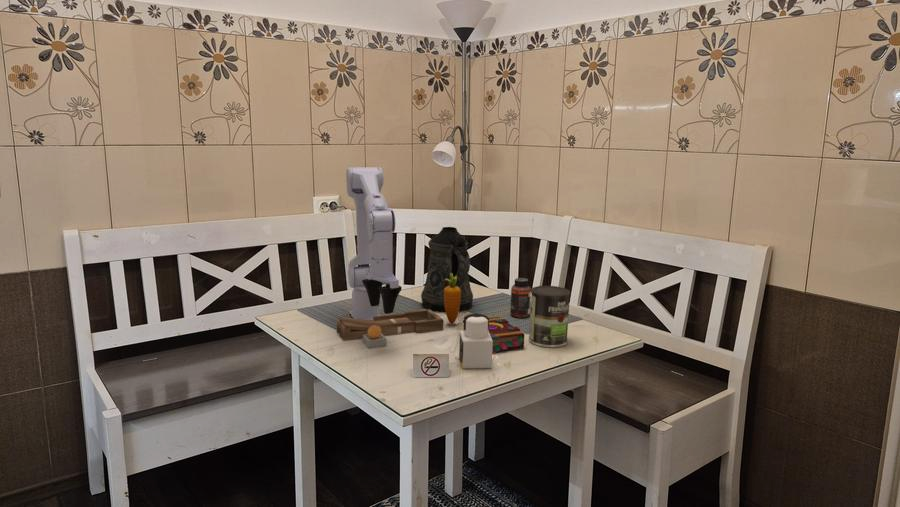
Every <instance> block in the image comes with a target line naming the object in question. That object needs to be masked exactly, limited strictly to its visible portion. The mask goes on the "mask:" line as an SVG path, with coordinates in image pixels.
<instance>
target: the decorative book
mask: <svg viewBox="0 0 900 507" xmlns="http://www.w3.org/2000/svg"><path fill="white" fill-rule="evenodd" d="M488 318H489V333H490V336H491V338H492V340H493V346H492V355H495V354H496V353H500V352H502V351H508V350H509V351H510V350H516V349H522V348H525V333H524V332H522V331H521V329H520V327H518V326H514V325H512V324H510V323H509V321H508V319H505V318H502V317H500V316H496V317H488ZM462 323H463V324H464V319H462Z"/></svg>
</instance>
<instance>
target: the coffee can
mask: <svg viewBox="0 0 900 507" xmlns="http://www.w3.org/2000/svg"><path fill="white" fill-rule="evenodd" d="M570 297H571V290H570V289H568V288H564V287H563V286H562V287H561V286H556V285H555V286H554V285H538V286H533V287H532V288H531V299H530V315H529V333H528V334H529V335H528V341H529V343H531V344H532V345H534V344H535V346H537V345H538V347H541V346H542V347H543V348H561V347H564V346H565V345H567V343H568V328H569V314H570V313H569V312H570V302H571V301H570V300H571V299H570Z"/></svg>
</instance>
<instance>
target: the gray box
mask: <svg viewBox="0 0 900 507" xmlns="http://www.w3.org/2000/svg"><path fill="white" fill-rule="evenodd" d="M387 340H388V339H387V338H386V336H384V335H383V334H382V333H381V335H380V336H379V337H378V338H376V339H373V338H371V337H369V335H368V334H366V335H363V338H362V343H363V344H364V345H365V347H366V348H367V349H370V348H371V349H372V348H380V347H386V346H387V345H388V343H387V342H388V341H387Z"/></svg>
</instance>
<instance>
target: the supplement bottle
mask: <svg viewBox="0 0 900 507" xmlns="http://www.w3.org/2000/svg"><path fill="white" fill-rule="evenodd" d="M510 288H511V290H510V316H512V317H513V316H514V318H517V317H518V318H519V319H521V318H522V319H523V318H528V317H530V312H531V289H532V288H531V286H529V279H528V278H525V277H516V278H515V279H514V283H513V285H512V286H511V287H510Z"/></svg>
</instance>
